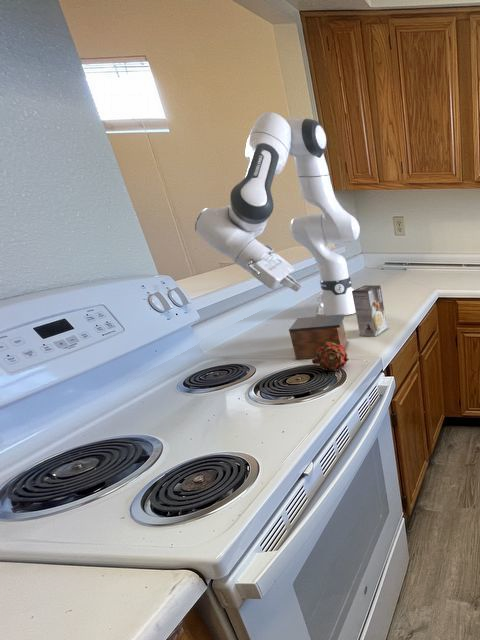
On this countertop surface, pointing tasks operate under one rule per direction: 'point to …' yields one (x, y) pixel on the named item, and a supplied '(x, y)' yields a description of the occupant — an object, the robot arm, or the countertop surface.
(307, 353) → the chest
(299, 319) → the lid
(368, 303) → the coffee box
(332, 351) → the dragon fruit
